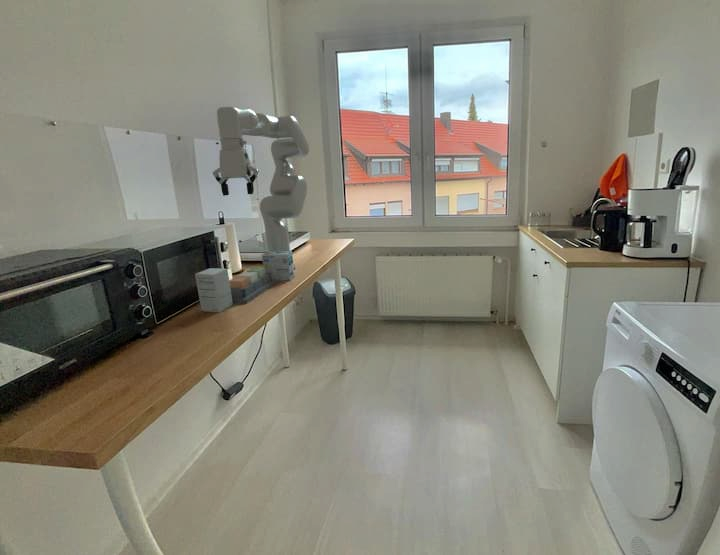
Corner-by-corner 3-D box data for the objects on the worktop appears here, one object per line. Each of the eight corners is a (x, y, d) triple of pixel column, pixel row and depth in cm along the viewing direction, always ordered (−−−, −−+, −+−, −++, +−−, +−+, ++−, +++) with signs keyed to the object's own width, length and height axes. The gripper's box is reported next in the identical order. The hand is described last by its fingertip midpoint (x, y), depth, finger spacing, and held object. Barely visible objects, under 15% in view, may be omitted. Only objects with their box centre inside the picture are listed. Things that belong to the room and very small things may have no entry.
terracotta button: (236, 288, 150) (235, 277, 149) (249, 288, 149) (248, 277, 148) (229, 292, 146) (227, 281, 145) (242, 292, 144) (241, 281, 143)
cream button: (245, 282, 157) (244, 272, 156) (258, 282, 155) (257, 272, 154) (239, 286, 152) (237, 275, 151) (252, 286, 151) (250, 275, 150)
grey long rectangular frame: (252, 282, 167) (251, 271, 166) (276, 283, 165) (274, 271, 163) (220, 303, 144) (218, 290, 143) (246, 303, 142) (245, 290, 141)
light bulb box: (295, 276, 173) (292, 250, 170) (291, 280, 167) (288, 253, 164) (269, 277, 174) (266, 251, 171) (264, 281, 168) (261, 255, 165)
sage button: (254, 277, 163) (253, 267, 162) (266, 277, 162) (265, 267, 161) (248, 281, 158) (246, 270, 157) (260, 281, 157) (259, 270, 156)
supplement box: (215, 303, 144) (209, 267, 141) (233, 305, 141) (228, 268, 138) (200, 311, 137) (194, 273, 134) (219, 312, 135) (213, 274, 131)
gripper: (259, 143, 151) (264, 193, 155) (215, 147, 154) (221, 195, 158) (250, 142, 143) (255, 194, 148) (204, 146, 147) (210, 196, 151)
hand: (238, 194), depth 153 cm, fingers open, 9 cm apart
